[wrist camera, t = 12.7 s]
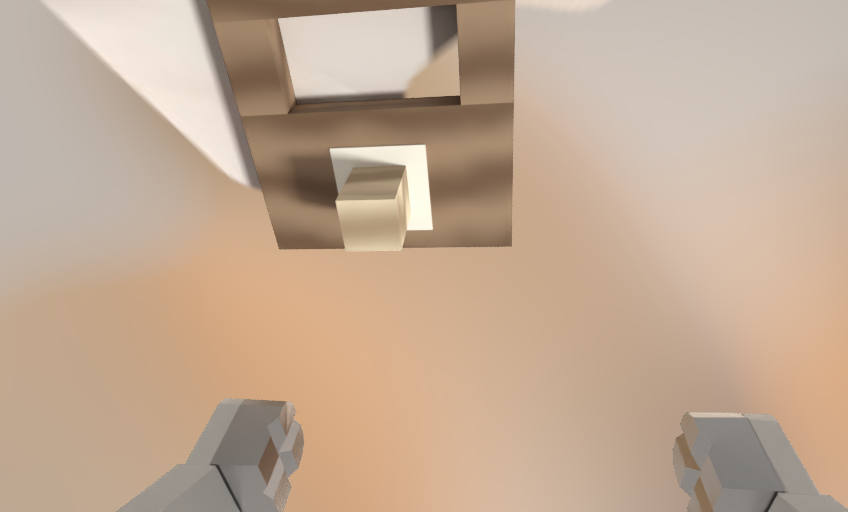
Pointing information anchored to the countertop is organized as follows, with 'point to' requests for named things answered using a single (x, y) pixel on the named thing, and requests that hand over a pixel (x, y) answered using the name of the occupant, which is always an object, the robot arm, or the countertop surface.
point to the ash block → (374, 208)
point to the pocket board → (378, 128)
